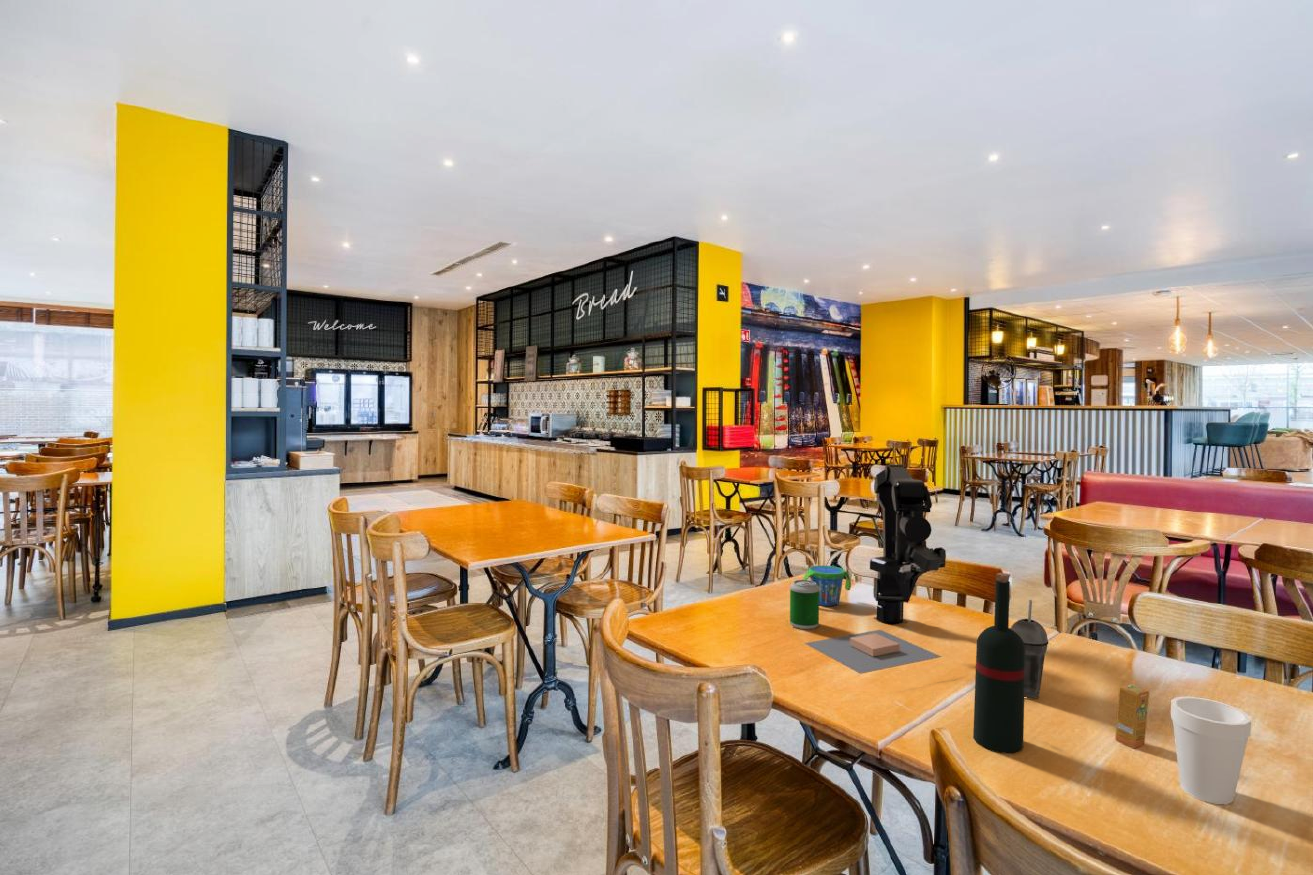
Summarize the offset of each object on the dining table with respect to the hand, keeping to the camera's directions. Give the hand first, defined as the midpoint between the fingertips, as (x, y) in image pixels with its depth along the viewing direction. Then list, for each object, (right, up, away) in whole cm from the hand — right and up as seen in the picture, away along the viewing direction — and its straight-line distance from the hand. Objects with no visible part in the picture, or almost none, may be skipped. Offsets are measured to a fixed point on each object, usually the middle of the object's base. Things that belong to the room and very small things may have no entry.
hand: (907, 598), depth 160 cm
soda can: (-21, -12, +18) cm, 30 cm away
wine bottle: (+1, -16, -41) cm, 44 cm away
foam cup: (+25, -17, -57) cm, 64 cm away
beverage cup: (+16, -15, -23) cm, 31 cm away
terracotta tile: (-4, -11, +2) cm, 12 cm away
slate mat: (-8, -13, 0) cm, 16 cm away
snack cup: (-9, -11, +39) cm, 42 cm away
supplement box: (+24, -16, -42) cm, 51 cm away
